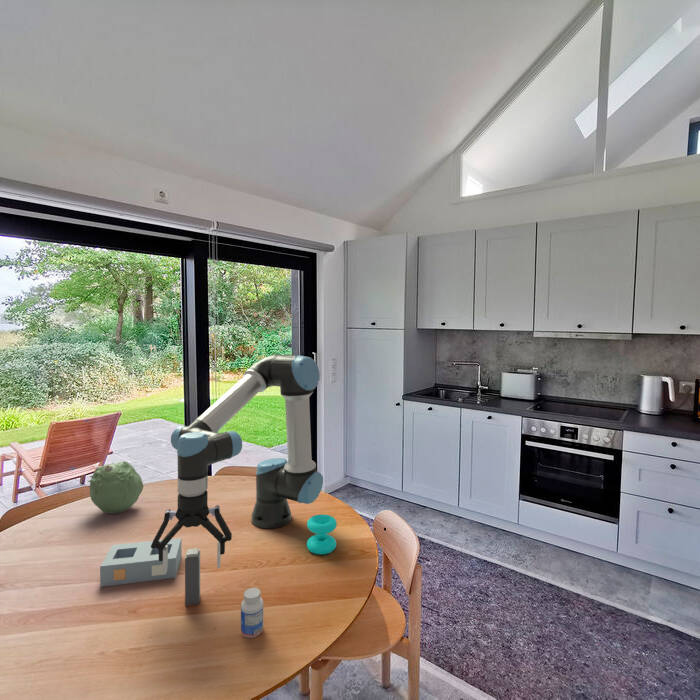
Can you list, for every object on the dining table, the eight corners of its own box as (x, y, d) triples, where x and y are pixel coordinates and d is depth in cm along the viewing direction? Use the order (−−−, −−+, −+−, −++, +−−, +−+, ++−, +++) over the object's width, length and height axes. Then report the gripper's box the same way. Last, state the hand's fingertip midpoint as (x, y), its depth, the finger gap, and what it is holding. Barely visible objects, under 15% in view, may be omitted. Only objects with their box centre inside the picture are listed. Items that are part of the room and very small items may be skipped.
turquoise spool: (301, 519, 142) (322, 510, 149) (300, 548, 142) (322, 537, 150) (321, 529, 135) (342, 519, 142) (320, 559, 136) (342, 548, 143)
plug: (200, 595, 116) (200, 547, 116) (198, 603, 113) (198, 554, 112) (186, 597, 115) (186, 548, 115) (185, 605, 112) (184, 555, 111)
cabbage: (150, 509, 169) (150, 460, 168) (99, 526, 154) (98, 473, 153) (132, 499, 179) (132, 452, 178) (82, 514, 164) (82, 463, 163)
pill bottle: (242, 623, 106) (243, 585, 105) (264, 622, 106) (264, 585, 106) (238, 639, 101) (239, 599, 100) (261, 638, 101) (262, 599, 100)
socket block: (181, 556, 136) (181, 538, 136) (175, 578, 124) (175, 558, 124) (112, 563, 131) (112, 544, 131) (100, 587, 119) (99, 566, 119)
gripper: (240, 483, 119) (240, 555, 120) (145, 489, 113) (145, 566, 114) (240, 493, 112) (240, 570, 113) (138, 500, 106) (138, 582, 107)
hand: (192, 568), depth 114 cm, fingers open, 13 cm apart
